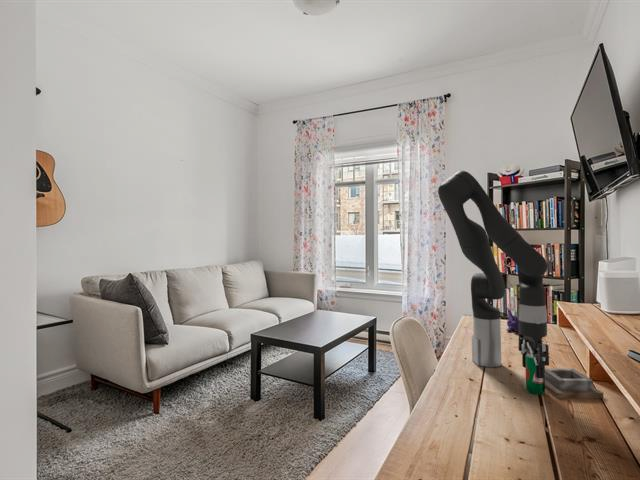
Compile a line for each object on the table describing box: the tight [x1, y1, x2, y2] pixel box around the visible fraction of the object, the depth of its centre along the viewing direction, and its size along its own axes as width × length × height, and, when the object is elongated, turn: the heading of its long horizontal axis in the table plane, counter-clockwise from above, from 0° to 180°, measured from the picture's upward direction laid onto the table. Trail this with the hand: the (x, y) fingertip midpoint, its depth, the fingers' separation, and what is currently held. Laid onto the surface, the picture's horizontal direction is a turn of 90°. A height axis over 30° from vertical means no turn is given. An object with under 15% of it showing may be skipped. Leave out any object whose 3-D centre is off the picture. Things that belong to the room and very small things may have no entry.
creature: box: [506, 306, 519, 333], centre depth 180 cm, size 9×18×12 cm, turn 149°
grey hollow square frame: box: [545, 368, 604, 399], centre depth 115 cm, size 13×13×4 cm
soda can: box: [525, 351, 546, 396], centre depth 113 cm, size 5×5×12 cm
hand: (532, 372), depth 113 cm, fingers open, 8 cm apart
